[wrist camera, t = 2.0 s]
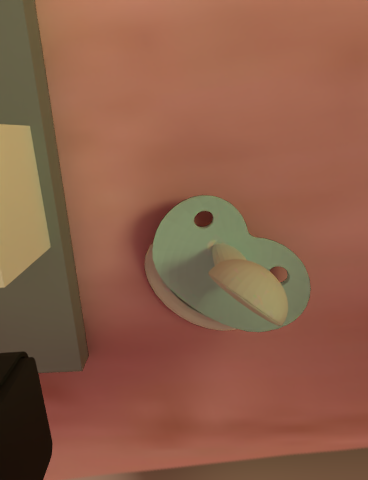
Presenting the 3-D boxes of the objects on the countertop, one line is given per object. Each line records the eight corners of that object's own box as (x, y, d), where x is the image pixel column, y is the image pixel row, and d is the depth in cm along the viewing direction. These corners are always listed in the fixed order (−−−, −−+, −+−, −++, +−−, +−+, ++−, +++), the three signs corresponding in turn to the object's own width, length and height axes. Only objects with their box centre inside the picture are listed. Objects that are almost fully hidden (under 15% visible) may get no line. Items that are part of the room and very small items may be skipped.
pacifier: (232, 344, 18) (311, 262, 16) (255, 452, 12) (382, 340, 10) (118, 268, 16) (192, 170, 15) (81, 348, 11) (197, 200, 9)
